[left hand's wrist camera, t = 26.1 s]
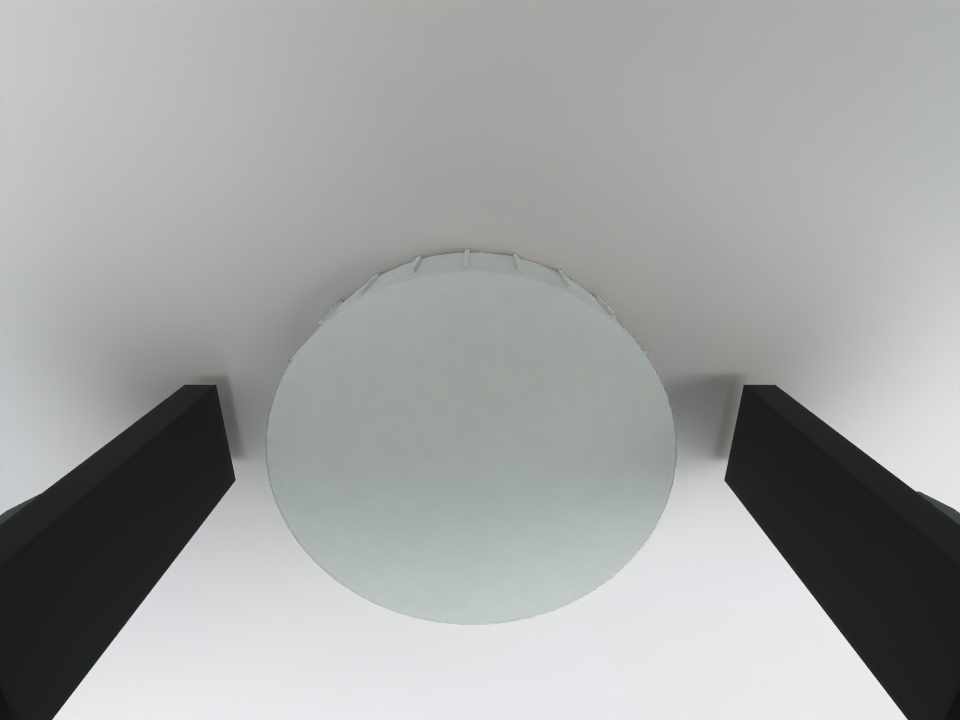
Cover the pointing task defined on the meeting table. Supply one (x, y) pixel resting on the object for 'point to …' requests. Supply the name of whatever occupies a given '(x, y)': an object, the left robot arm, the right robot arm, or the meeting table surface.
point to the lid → (471, 441)
